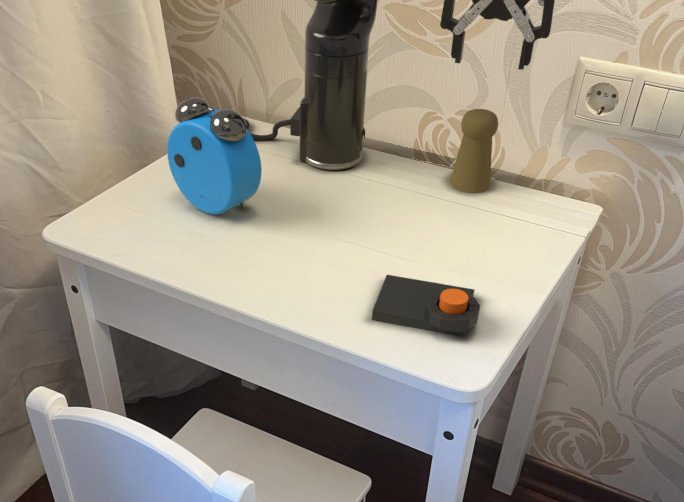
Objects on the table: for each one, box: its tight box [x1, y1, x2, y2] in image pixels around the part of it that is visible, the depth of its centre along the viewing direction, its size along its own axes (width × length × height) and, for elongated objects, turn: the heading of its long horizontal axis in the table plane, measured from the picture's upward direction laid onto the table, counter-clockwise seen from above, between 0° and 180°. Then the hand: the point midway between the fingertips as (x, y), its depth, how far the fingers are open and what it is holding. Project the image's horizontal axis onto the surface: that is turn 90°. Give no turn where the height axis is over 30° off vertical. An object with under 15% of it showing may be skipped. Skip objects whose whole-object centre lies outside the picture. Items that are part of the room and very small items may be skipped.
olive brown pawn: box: [449, 108, 499, 194], centre depth 121 cm, size 6×6×11 cm
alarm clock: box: [166, 95, 263, 215], centre depth 114 cm, size 13×6×15 cm, turn 49°
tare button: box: [439, 289, 468, 315], centre depth 96 cm, size 3×3×2 cm
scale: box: [371, 274, 481, 337], centre depth 99 cm, size 12×9×3 cm
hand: (489, 64), depth 113 cm, fingers open, 8 cm apart
